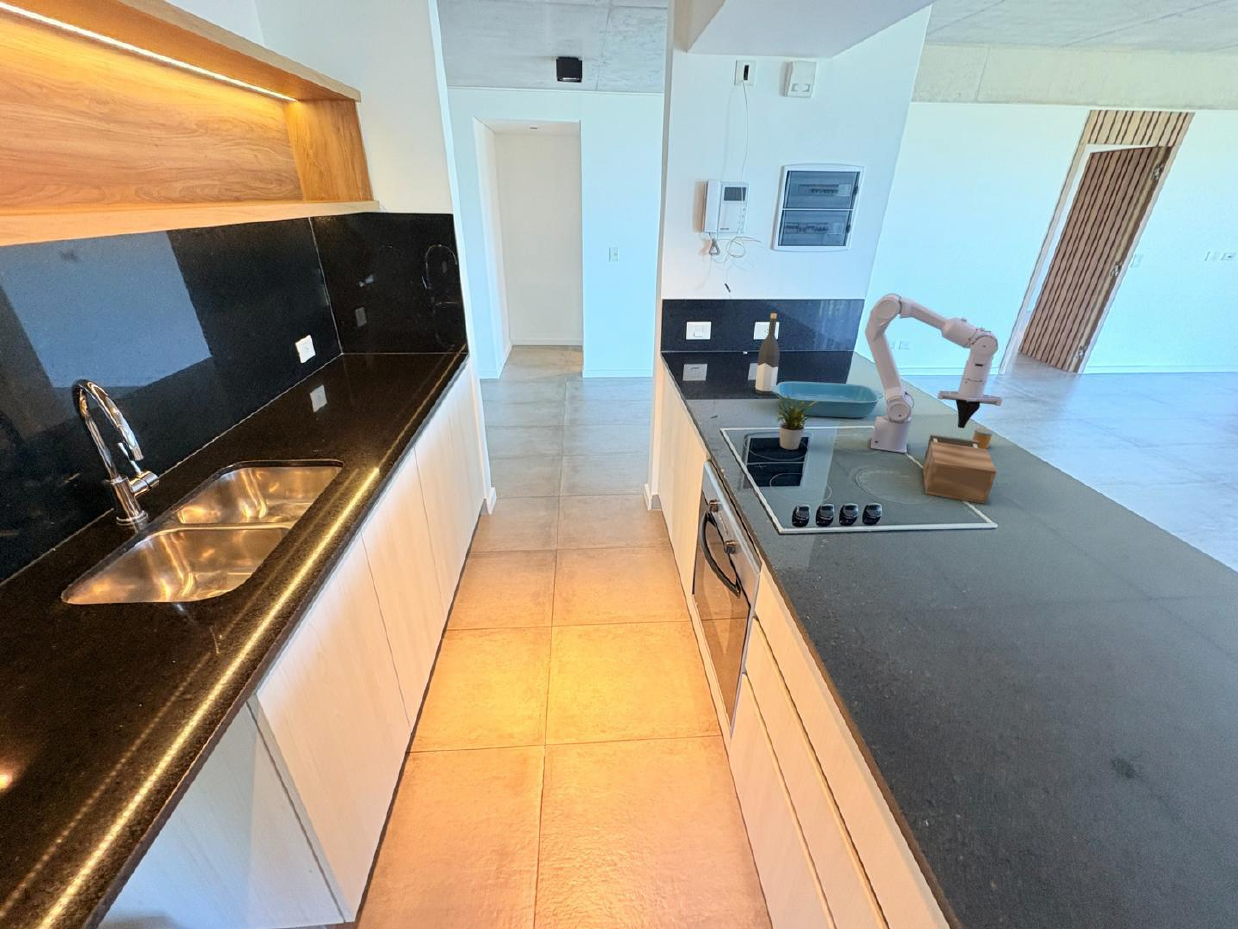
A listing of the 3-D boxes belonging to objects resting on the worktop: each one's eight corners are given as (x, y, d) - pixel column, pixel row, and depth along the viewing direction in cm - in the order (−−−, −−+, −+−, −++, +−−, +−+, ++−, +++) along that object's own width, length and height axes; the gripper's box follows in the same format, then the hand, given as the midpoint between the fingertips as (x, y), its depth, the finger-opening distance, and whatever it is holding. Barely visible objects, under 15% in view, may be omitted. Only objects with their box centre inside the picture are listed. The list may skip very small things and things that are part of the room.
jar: (971, 447, 157) (976, 432, 155) (969, 441, 160) (974, 427, 158) (989, 449, 155) (994, 434, 153) (987, 444, 159) (992, 429, 157)
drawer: (923, 450, 152) (929, 428, 149) (969, 457, 148) (976, 434, 145) (927, 475, 137) (933, 451, 134) (978, 483, 133) (986, 459, 130)
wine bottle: (778, 390, 209) (787, 313, 197) (771, 396, 203) (781, 316, 190) (758, 387, 213) (766, 311, 201) (751, 392, 207) (759, 314, 194)
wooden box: (922, 470, 142) (930, 441, 138) (977, 479, 137) (987, 449, 133) (925, 493, 130) (934, 462, 126) (985, 504, 125) (996, 471, 121)
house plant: (751, 445, 158) (757, 393, 151) (773, 433, 167) (780, 383, 160) (796, 459, 149) (804, 403, 142) (817, 445, 158) (826, 392, 152)
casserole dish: (771, 416, 182) (773, 396, 179) (768, 397, 202) (770, 378, 199) (885, 423, 175) (890, 402, 172) (871, 403, 195) (874, 384, 192)
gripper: (944, 379, 139) (931, 427, 145) (1009, 385, 134) (994, 435, 139) (942, 373, 145) (930, 419, 151) (1005, 378, 140) (990, 427, 145)
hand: (960, 426), depth 146 cm, fingers closed
